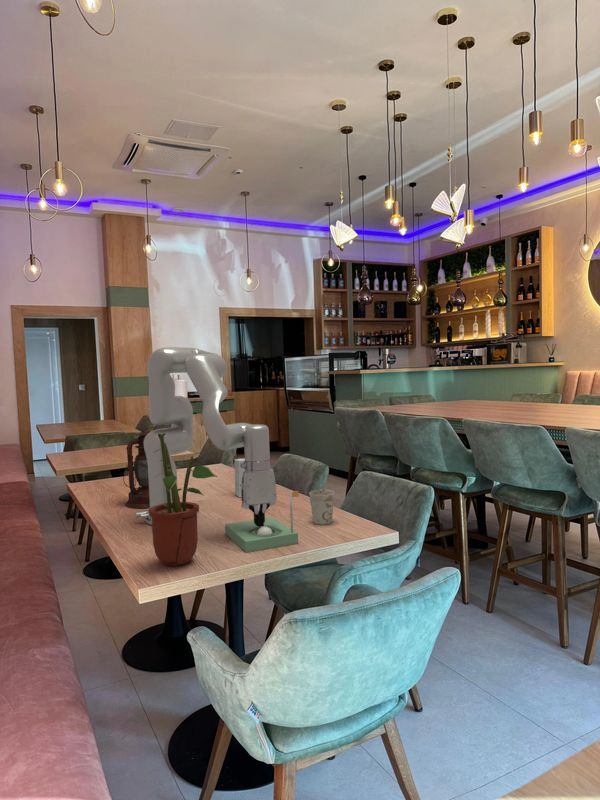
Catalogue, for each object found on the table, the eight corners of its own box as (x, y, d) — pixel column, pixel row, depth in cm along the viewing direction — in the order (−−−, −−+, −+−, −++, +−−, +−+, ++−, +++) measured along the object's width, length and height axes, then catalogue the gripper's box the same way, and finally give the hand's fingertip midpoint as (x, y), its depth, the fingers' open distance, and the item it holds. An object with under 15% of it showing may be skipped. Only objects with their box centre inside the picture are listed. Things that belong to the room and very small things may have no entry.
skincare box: (238, 497, 220) (237, 461, 219) (234, 494, 226) (233, 458, 225) (258, 495, 223) (257, 459, 222) (254, 492, 229) (253, 456, 228)
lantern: (159, 494, 230) (156, 423, 228) (184, 501, 216) (181, 425, 214) (116, 503, 216) (112, 427, 215) (140, 511, 203) (136, 430, 201)
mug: (317, 527, 177) (317, 496, 176) (299, 518, 188) (298, 489, 188) (340, 523, 181) (339, 493, 180) (321, 514, 192) (320, 486, 191)
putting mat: (246, 552, 155) (244, 499, 154) (225, 533, 173) (223, 486, 172) (302, 542, 162) (301, 492, 161) (276, 525, 180) (275, 480, 179)
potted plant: (155, 574, 140) (149, 437, 138) (146, 556, 154) (140, 431, 152) (222, 563, 147) (217, 432, 145) (207, 546, 161) (203, 427, 159)
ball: (259, 534, 160) (252, 528, 164) (263, 547, 161) (256, 541, 165) (272, 527, 162) (266, 521, 165) (276, 540, 163) (270, 534, 167)
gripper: (237, 470, 160) (240, 532, 161) (285, 465, 166) (287, 525, 167) (229, 466, 167) (232, 526, 168) (275, 461, 173) (277, 519, 174)
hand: (259, 525), depth 168 cm, fingers closed
